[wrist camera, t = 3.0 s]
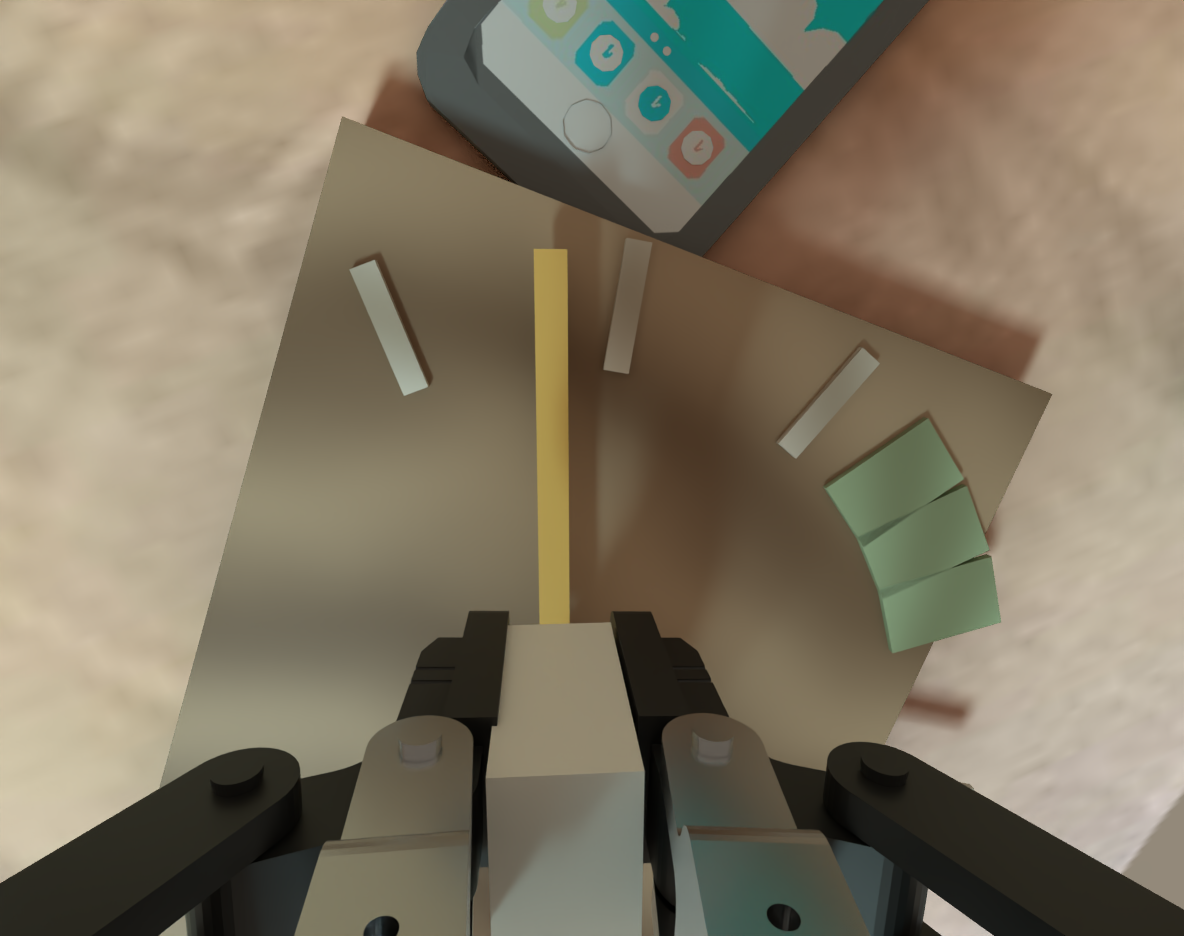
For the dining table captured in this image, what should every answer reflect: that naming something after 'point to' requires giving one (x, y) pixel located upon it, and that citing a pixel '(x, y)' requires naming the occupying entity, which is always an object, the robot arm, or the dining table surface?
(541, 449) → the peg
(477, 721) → the robot arm
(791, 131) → the smartphone
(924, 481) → the tuner board
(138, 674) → the dining table surface
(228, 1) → the dining table surface
